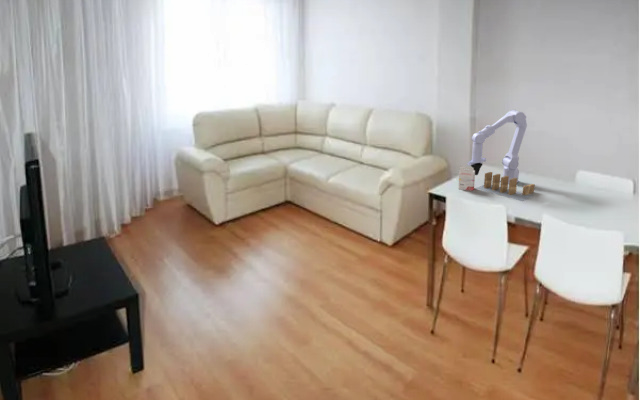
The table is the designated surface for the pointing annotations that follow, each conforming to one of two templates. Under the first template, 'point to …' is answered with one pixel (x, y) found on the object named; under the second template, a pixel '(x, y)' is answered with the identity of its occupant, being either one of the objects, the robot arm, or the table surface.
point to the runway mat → (506, 193)
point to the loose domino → (528, 189)
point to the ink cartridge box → (466, 178)
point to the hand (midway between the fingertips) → (475, 174)
